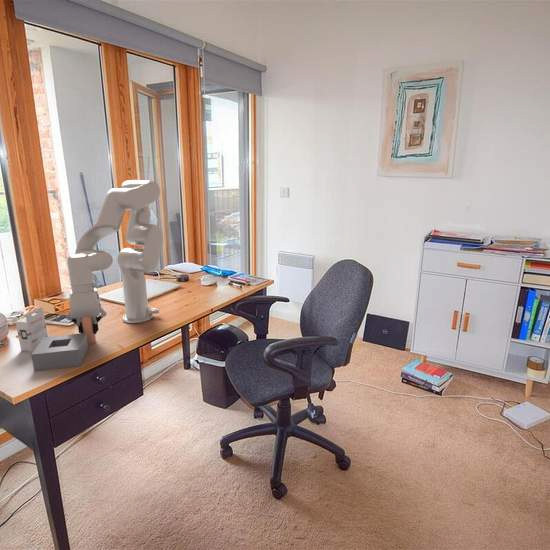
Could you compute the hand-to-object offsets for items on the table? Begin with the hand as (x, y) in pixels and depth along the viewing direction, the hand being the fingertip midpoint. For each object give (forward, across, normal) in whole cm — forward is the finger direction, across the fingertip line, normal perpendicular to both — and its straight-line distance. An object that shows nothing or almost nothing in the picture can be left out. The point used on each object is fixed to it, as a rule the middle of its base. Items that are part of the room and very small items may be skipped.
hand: (89, 333), depth 149 cm
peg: (+4, 0, 0) cm, 4 cm away
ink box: (+4, +19, -1) cm, 20 cm away
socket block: (+4, +7, +12) cm, 14 cm away
